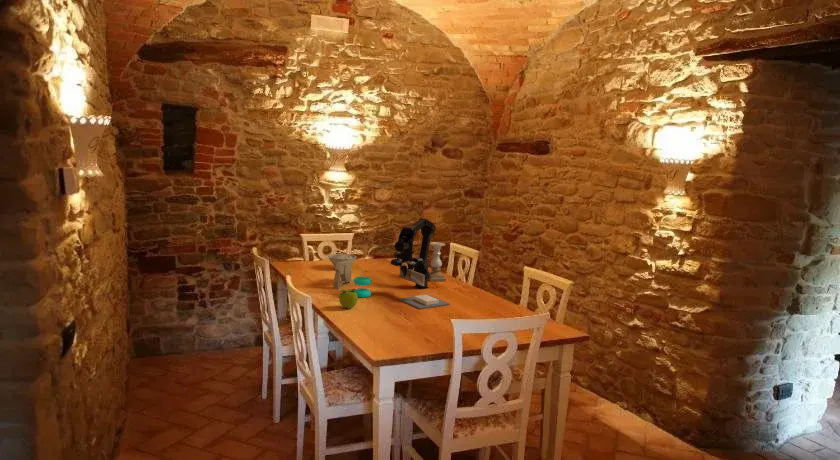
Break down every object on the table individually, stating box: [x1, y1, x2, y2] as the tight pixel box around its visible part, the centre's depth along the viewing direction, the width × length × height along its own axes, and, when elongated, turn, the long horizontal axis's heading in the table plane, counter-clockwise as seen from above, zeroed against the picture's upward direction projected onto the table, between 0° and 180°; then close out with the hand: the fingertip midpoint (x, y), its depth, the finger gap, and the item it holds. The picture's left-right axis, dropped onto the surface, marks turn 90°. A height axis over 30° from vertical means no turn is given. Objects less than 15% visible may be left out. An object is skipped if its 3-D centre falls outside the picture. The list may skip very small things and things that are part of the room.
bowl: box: [327, 253, 357, 267], centre depth 359 cm, size 19×19×10 cm
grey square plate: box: [398, 294, 451, 310], centre depth 287 cm, size 20×20×1 cm
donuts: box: [353, 276, 373, 298], centre depth 293 cm, size 10×10×10 cm
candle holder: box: [428, 241, 447, 283], centre depth 342 cm, size 11×11×24 cm
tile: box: [413, 294, 439, 305], centre depth 285 cm, size 8×2×12 cm
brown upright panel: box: [399, 266, 425, 286], centre depth 296 cm, size 2×22×6 cm, turn 35°
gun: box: [333, 260, 354, 290], centre depth 316 cm, size 24×3×15 cm, turn 168°
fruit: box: [338, 288, 359, 309], centre depth 269 cm, size 9×9×10 cm
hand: (406, 276), depth 301 cm, fingers closed on brown upright panel, 2 cm apart
